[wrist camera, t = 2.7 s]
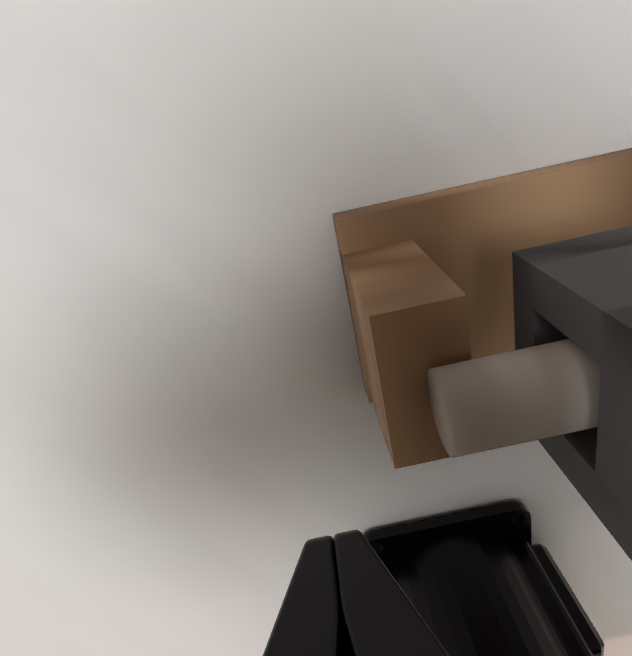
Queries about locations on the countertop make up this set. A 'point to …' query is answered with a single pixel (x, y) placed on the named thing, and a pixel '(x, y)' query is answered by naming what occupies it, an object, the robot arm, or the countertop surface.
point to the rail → (472, 308)
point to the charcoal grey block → (600, 343)
